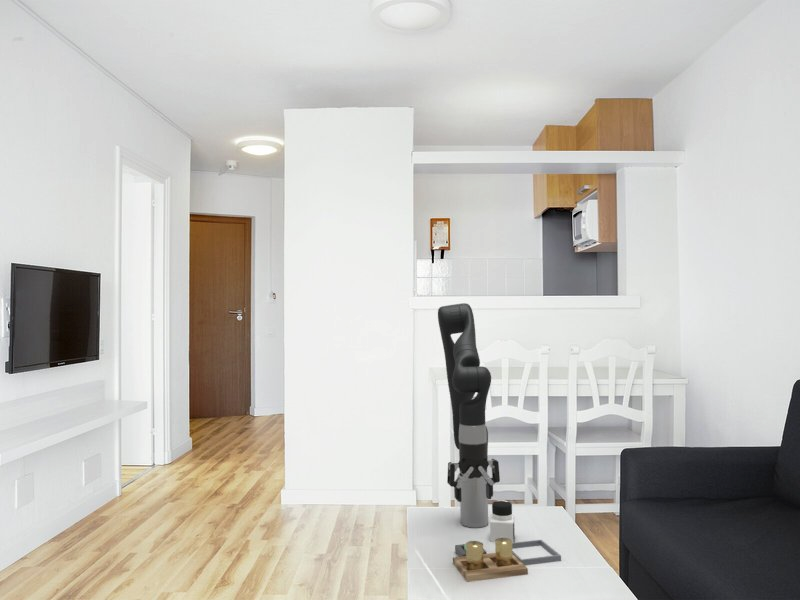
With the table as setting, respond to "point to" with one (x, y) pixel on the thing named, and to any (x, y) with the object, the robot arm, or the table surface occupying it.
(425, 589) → the table surface
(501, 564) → the cylinder
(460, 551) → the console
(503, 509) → the medicine bottle
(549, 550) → the tray
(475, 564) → the cylinder
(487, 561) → the tray
